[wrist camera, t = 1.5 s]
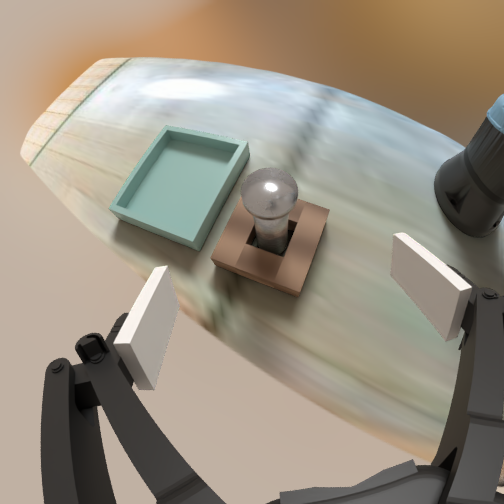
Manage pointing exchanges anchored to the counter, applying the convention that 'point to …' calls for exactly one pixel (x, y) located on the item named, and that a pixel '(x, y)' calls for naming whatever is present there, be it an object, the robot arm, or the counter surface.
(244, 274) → the holder
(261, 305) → the counter surface
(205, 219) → the tray
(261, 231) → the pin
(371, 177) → the counter surface
